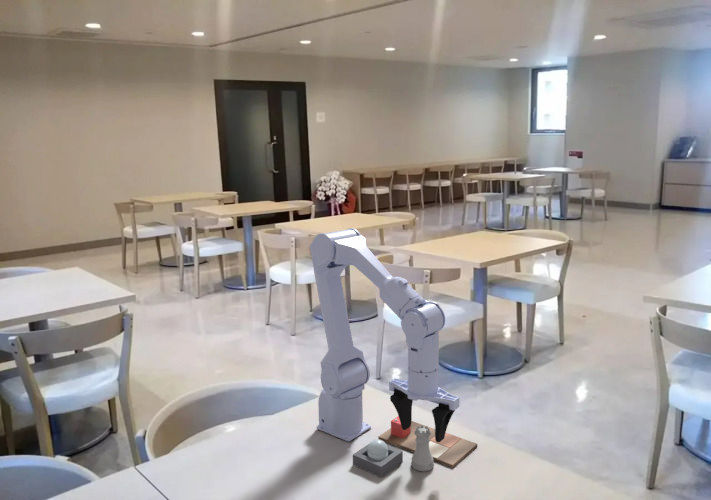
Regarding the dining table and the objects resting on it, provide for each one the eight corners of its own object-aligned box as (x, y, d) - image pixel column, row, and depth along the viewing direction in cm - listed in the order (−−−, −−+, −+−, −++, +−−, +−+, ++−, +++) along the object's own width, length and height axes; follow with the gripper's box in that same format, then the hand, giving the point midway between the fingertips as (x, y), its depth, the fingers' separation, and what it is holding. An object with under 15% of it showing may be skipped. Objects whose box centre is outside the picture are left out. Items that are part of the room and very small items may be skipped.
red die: (390, 433, 126) (390, 419, 125) (399, 428, 128) (399, 414, 127) (402, 438, 124) (402, 423, 123) (410, 432, 126) (410, 418, 126)
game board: (378, 439, 125) (378, 436, 125) (405, 421, 132) (405, 418, 132) (452, 467, 114) (452, 464, 114) (477, 446, 121) (477, 443, 121)
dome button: (363, 462, 115) (363, 441, 115) (375, 453, 118) (375, 433, 118) (379, 469, 113) (379, 448, 112) (392, 460, 116) (391, 439, 115)
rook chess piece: (433, 473, 112) (433, 435, 110) (409, 471, 113) (409, 432, 111) (434, 460, 116) (435, 423, 115) (412, 458, 117) (412, 421, 116)
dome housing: (352, 464, 115) (352, 454, 115) (374, 449, 121) (374, 440, 120) (381, 477, 111) (381, 466, 111) (402, 461, 116) (402, 451, 116)
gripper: (379, 364, 112) (380, 430, 115) (445, 383, 103) (445, 454, 106) (400, 354, 117) (400, 417, 120) (465, 371, 108) (464, 438, 111)
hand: (422, 433), depth 113 cm, fingers open, 7 cm apart
